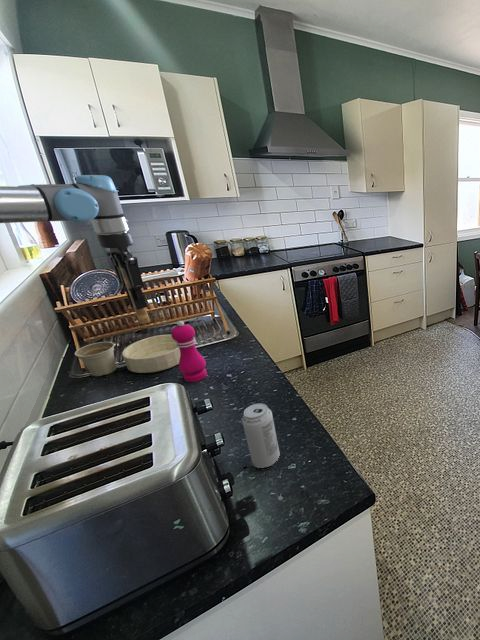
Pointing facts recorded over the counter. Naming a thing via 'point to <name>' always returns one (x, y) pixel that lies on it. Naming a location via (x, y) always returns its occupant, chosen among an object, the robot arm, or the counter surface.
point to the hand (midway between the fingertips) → (139, 306)
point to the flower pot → (98, 358)
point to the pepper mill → (189, 353)
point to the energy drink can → (260, 435)
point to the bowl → (152, 354)
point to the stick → (140, 313)
